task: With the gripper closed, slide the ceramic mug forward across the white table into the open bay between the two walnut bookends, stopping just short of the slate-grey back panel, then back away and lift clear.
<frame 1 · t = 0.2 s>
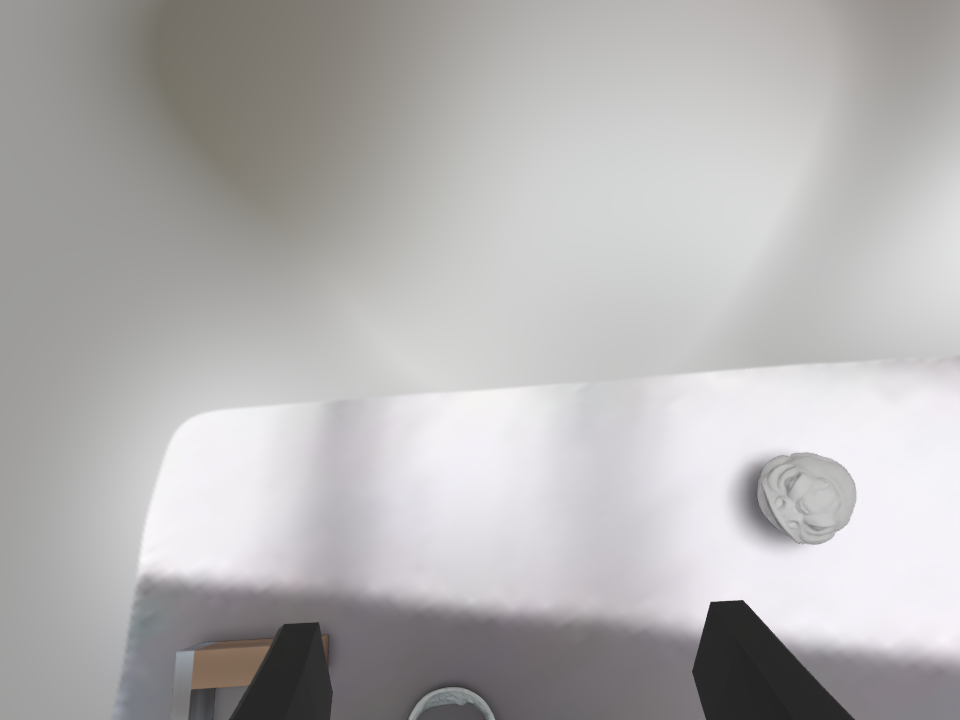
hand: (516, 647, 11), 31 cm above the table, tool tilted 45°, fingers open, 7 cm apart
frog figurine: (773, 502, 44), on the table
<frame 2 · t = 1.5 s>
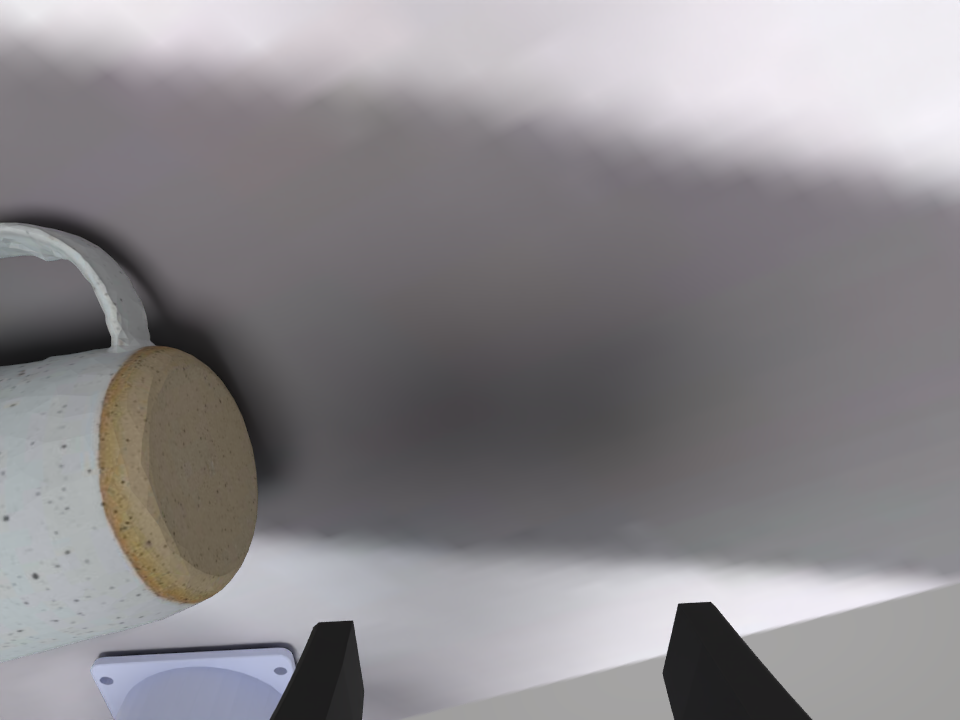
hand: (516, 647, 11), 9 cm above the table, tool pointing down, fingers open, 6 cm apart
ceramic mug: (102, 383, 19), on the table
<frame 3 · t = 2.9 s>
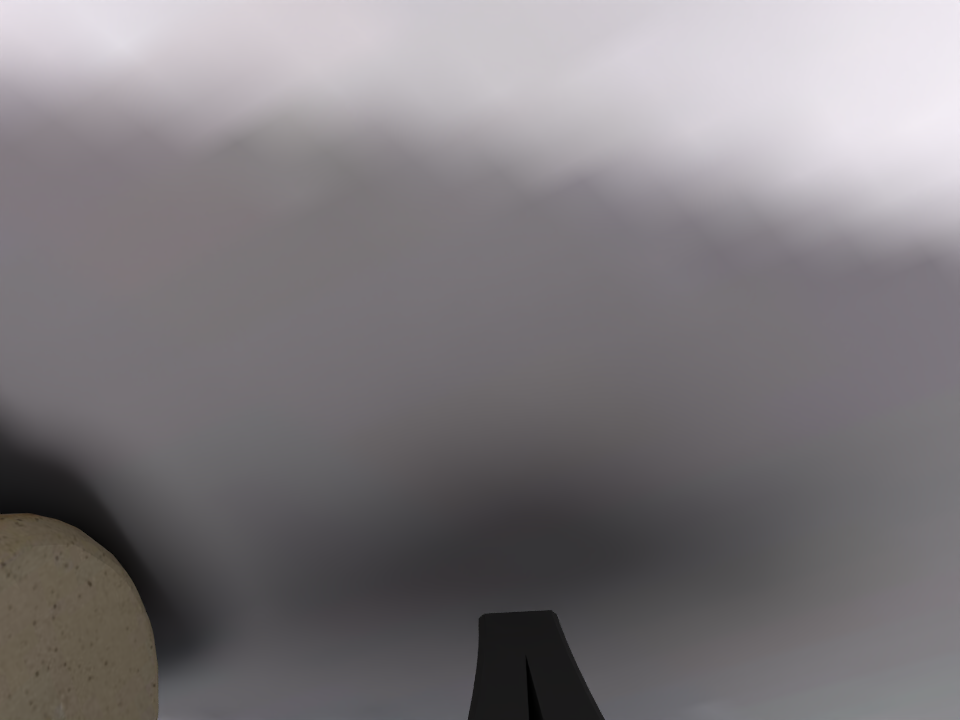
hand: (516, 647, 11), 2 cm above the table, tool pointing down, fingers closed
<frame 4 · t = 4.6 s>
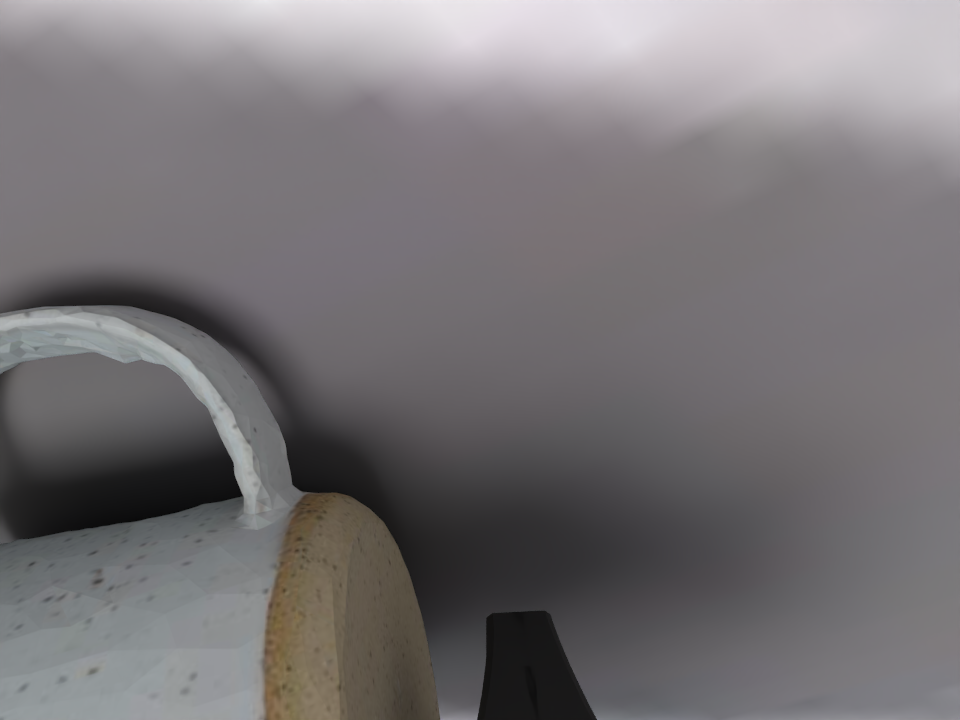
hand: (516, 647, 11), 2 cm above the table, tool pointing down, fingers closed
ceramic mug: (195, 521, 12), on the table, touching gripper
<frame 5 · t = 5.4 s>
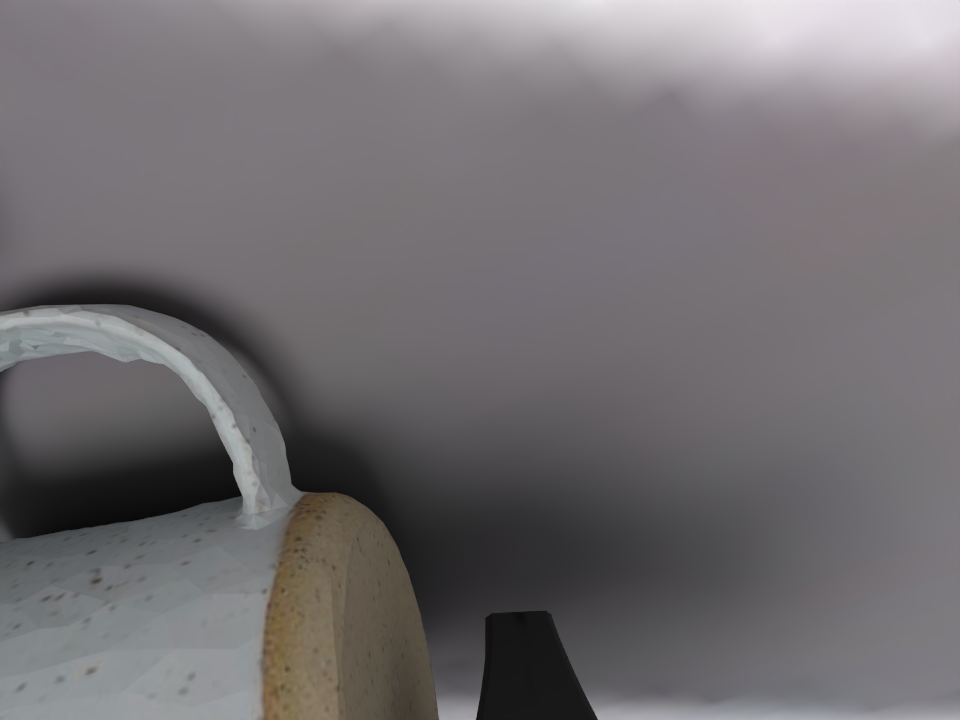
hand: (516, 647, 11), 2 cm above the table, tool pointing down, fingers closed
ceramic mug: (195, 520, 12), on the table, touching gripper
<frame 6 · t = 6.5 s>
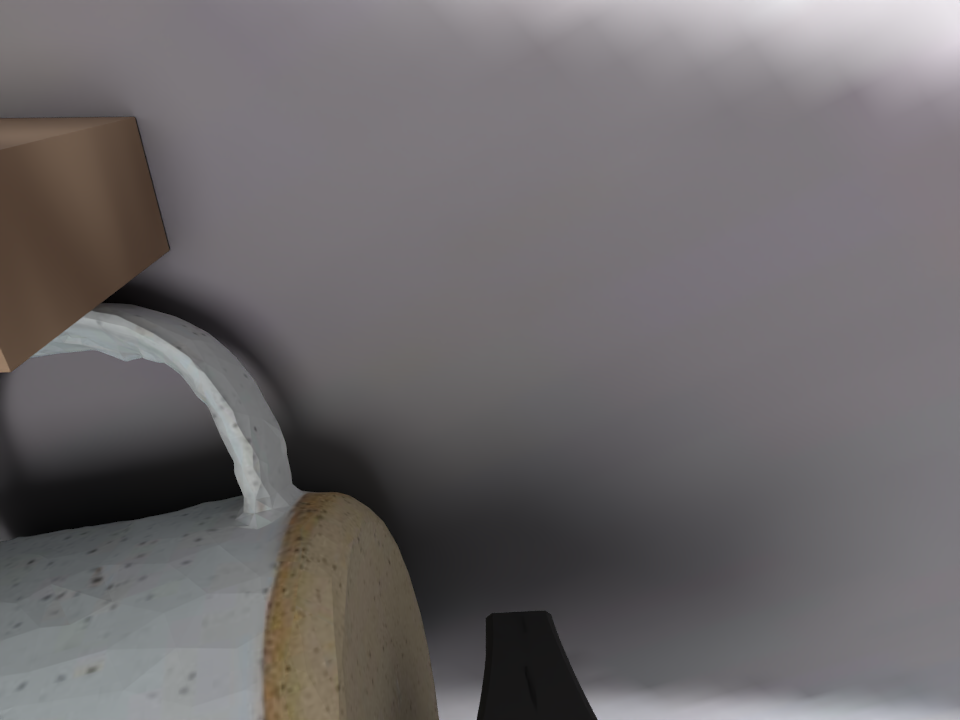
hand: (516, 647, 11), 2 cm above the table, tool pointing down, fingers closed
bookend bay: (85, 569, 13), on the table
ceramic mug: (195, 520, 12), on the table, touching gripper
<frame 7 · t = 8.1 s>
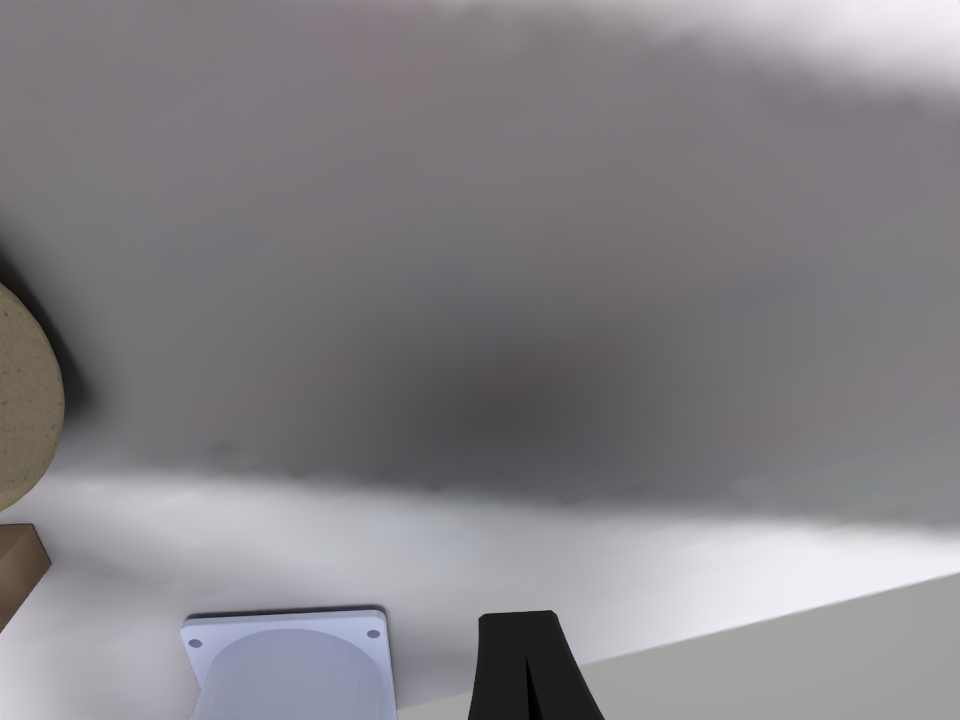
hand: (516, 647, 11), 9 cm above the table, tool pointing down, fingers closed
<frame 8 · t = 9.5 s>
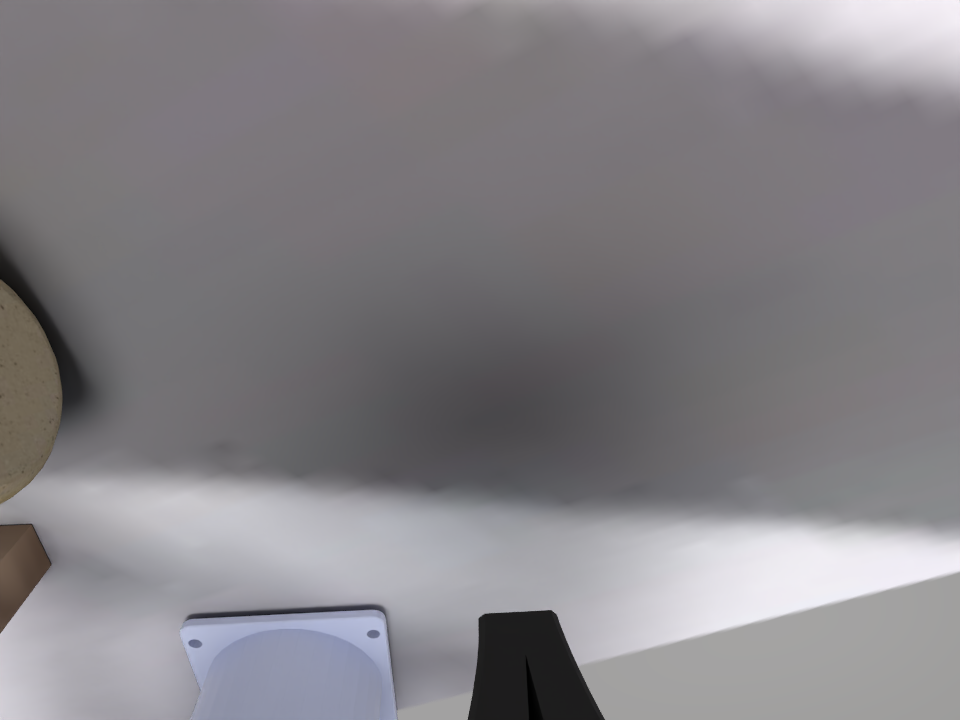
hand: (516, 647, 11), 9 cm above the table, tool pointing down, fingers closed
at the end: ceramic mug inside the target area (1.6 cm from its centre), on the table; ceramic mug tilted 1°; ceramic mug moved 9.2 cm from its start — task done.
